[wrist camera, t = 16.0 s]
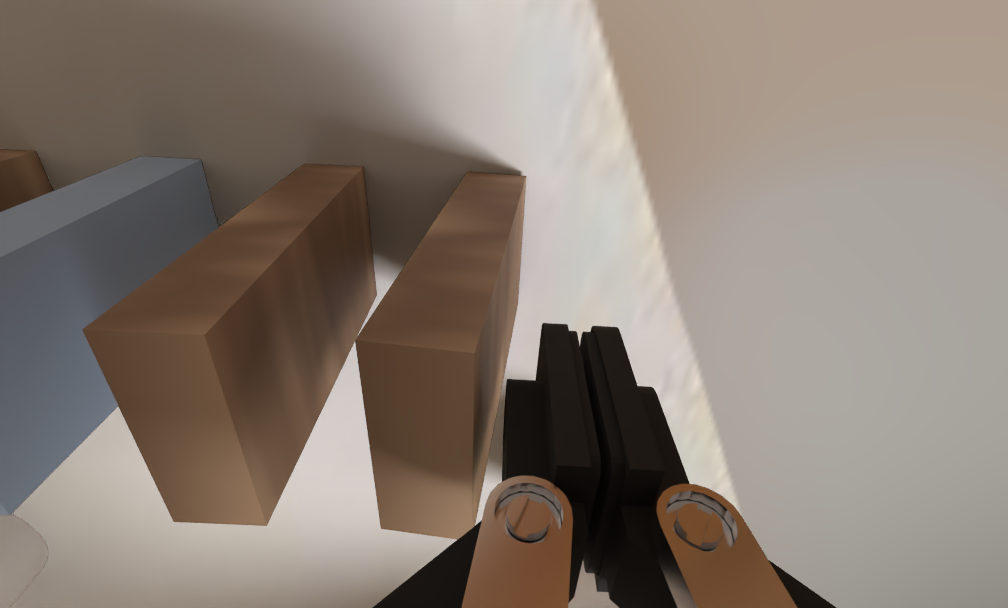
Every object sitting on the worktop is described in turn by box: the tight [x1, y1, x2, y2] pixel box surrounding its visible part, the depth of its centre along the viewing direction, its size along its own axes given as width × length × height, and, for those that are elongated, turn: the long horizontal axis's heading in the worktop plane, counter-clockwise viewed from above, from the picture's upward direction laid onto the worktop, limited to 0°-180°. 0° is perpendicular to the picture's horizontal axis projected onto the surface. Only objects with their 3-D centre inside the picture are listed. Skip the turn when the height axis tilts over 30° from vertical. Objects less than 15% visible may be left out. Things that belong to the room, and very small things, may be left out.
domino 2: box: [355, 172, 526, 539], centre depth 14 cm, size 2×5×10 cm, turn 178°
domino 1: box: [82, 164, 377, 526], centre depth 14 cm, size 2×5×10 cm, turn 178°
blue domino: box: [0, 156, 218, 515], centre depth 14 cm, size 2×5×10 cm, turn 177°
